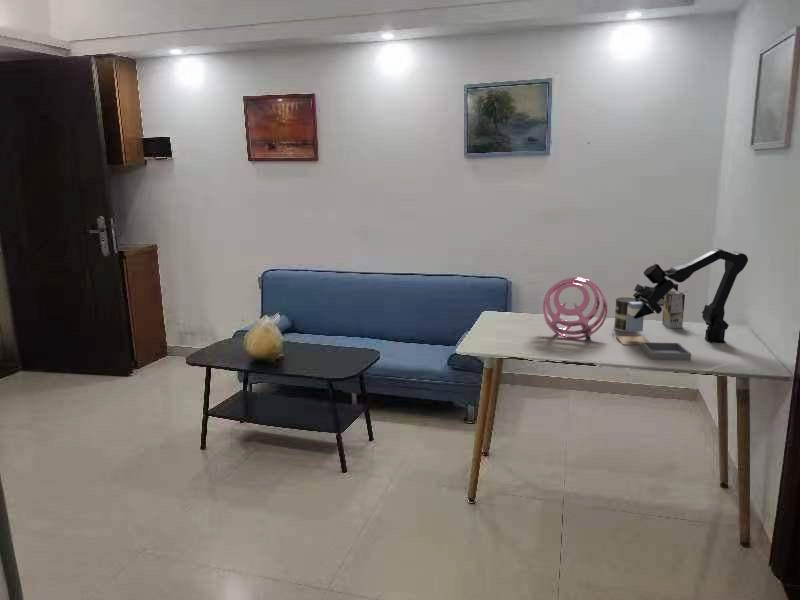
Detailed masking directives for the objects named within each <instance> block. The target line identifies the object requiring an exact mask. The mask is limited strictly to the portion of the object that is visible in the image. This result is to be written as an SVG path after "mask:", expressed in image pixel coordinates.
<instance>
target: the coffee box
mask: <svg viewBox="0 0 800 600" xmlns="http://www.w3.org/2000/svg"><path fill="white" fill-rule="evenodd" d="M685 297H686V295H685V294H684V293H683V292H680V291H679V290H678V291H676V290H671V291H670V292H668V293H667V294H666V295H665V296H664V298H665V299H664V300H663V307H662V322H661V323H662V325H664V326H665V327H667V326H668V327H667V328H669V329H679V328H680V329H681V328H683V325H684V324H683V323H684V322H683V321H684V315H685V314H684V313H685V311H684V310H685V300H686V298H685Z"/></svg>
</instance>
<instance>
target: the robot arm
mask: <svg viewBox="0 0 800 600" xmlns="http://www.w3.org/2000/svg"><path fill="white" fill-rule="evenodd" d="M718 260H723V261H724V272H723V275H722V278H721V280H720V283H719V285H718V288H717V289H716V293H715V295H714V296H713V299H712V301H711V303H710V304H708V305H707V304H705V305H704V308H703V311H702V312H701V314H702V320H703V321H704V322H705V324H706V329H705V336H704V339H705V340H706V341H707V342H708V343H715V344H716V343H719V344H722V343H723V344H725V343H727V342H726V340H725V335H726V330H728V328H729V327H730V326H729V324H728V323H727V321H726V320H725V319H724V318H725V313H726V312H725V305H726V303H727V300H728V298H729V295H730V293H731V291H732V289H733V287H734V283H735V281H736V279H737V277H738V275H739V274H740V273H741V272H742V271H743V270H744V269H745V268H746V266H747V264H748V261H749V258H748V256H747V254H745V253H743V252H738V251H730V252H729V251H726V250H724V249H722V248H714V249H712V250H711V251H709V252H706V253H704V254H703V255H701V256H699V257H697V258H695V259H693V260H691V261H689V262H687V263H685V264H684V263H683V264H678V265H676V266H672V267H670V268H669V269H666V270H663V268H661V267H660V265H659V264H658V263H654V264H653V265H651V266H649V267H647V268H646V269H645V270H644V271H643V275H644V277H646V278H647V279H648V281H650V282H651V284H653V285H654V284H656V285H654V286H653V287H652V286H648V285H640V284H638V283H637V284H636V285H635V288H634V290H633V291H634V292H635V293H634V294H633V295H632V296H633V298H635V302H642V303H643V304H642V308H641V309H640V310H639V311H638V312H637V314H636V315H635V316H634V318H635V319H637V318H640V317H643V316H644V317H645V316H648V315H652V314H653V315H654V314H658V315H659V314H661V313H662V312H663V307H662V306H661V305H659V302H660V301H661V300H663V301H664V299H665V298H664V296H665V295H666V294H667V293H668V292H670V291H678V292H679V284H678V283H684V282H685V281H686V280H688V279H689V278H691V276H692V275H693V274H694V273H696V272H697V271H699V270H701V269H703V268H704V267H705V268H706V267H707V266H709V265H711V264H713V263H715V262H717V261H718ZM673 281H674V282H676V283H674V282H673Z"/></svg>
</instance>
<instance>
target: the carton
mask: <svg viewBox="0 0 800 600" xmlns="http://www.w3.org/2000/svg"><path fill="white" fill-rule="evenodd" d="M642 304H643V303H642V302H628V315H627V329H628V330H629V331H631V333H632V332H634V333H635V332H643V331H644V318H645V316H643V317H640V318H637V319H635V318H634V316H635V315H636V314H637V312H638V311H639V310H640V309H641V308H642Z"/></svg>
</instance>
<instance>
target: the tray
mask: <svg viewBox="0 0 800 600" xmlns="http://www.w3.org/2000/svg"><path fill="white" fill-rule="evenodd" d="M641 349H642V351H643V352H644V353H645V354H646V355H647V356H648V357H649V358H650V359H651V360H666V361H667V360H675V361H677V360H678V361H679V360H681V361H691V359H692V353H691V352H689V350H688V349H686V348H685V346H683V345H682V344H681V343H680V342H654V341H653V342H650V341H649V342H642V346H641Z"/></svg>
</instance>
